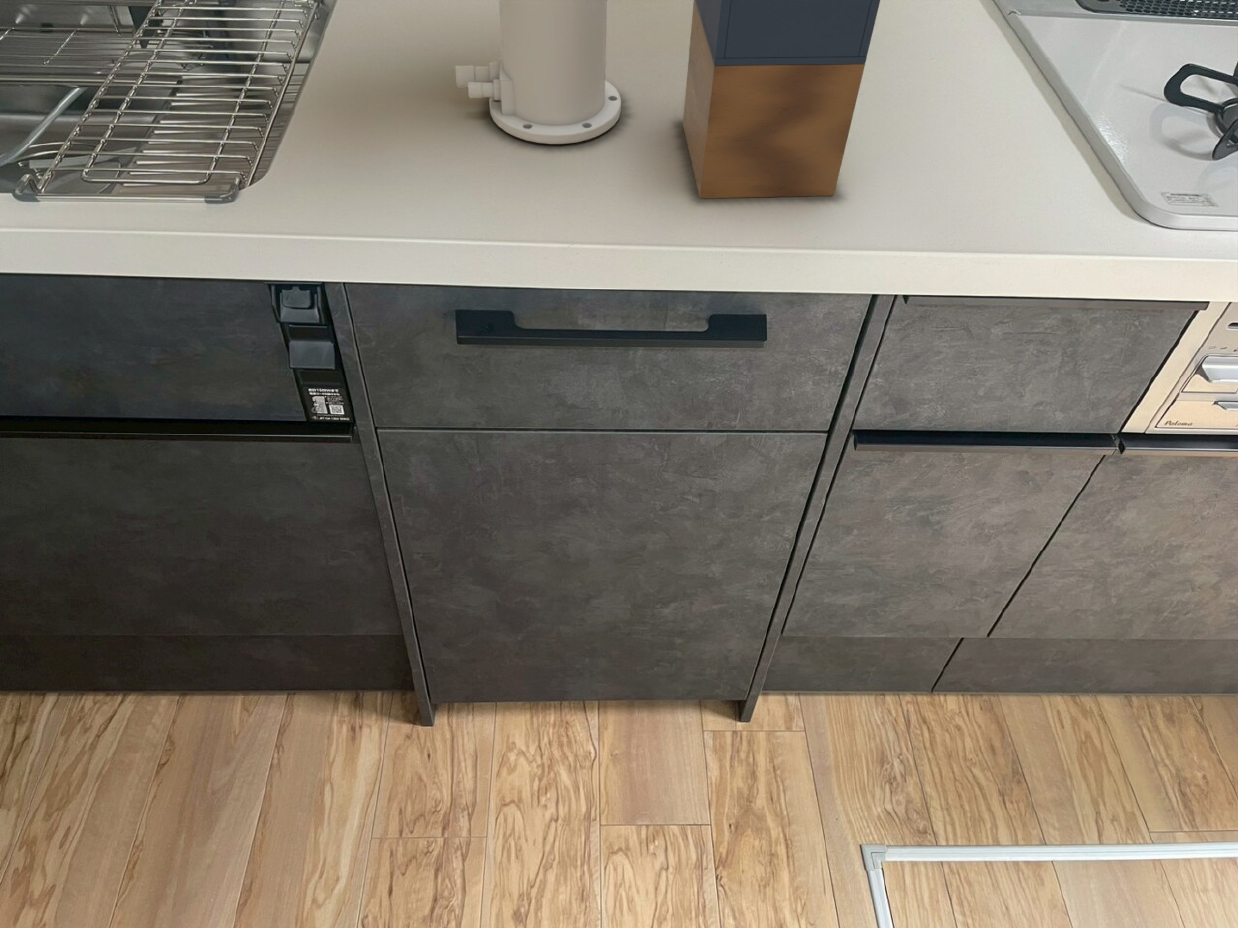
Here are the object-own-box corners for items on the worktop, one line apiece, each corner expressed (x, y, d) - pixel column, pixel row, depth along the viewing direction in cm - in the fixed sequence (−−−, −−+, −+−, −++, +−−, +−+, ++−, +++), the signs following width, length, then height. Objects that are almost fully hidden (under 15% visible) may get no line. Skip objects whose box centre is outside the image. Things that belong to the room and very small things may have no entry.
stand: (699, 198, 82) (714, 66, 73) (682, 125, 90) (694, -3, 80) (834, 195, 83) (865, 64, 74) (805, 123, 91) (831, -4, 81)
